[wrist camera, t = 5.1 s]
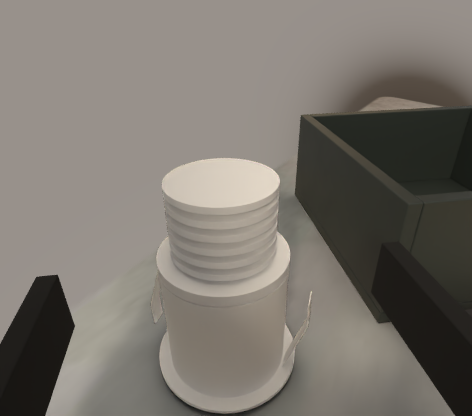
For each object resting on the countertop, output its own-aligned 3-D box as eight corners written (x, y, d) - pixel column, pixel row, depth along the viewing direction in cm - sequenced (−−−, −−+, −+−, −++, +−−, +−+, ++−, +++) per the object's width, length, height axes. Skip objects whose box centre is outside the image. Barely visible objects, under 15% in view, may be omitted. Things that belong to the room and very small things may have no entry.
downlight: (311, 319, 21) (332, 157, 16) (291, 442, 15) (313, 245, 10) (186, 292, 23) (170, 142, 18) (124, 389, 17) (76, 207, 12)
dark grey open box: (378, 323, 20) (408, 204, 16) (294, 194, 35) (300, 114, 31) (626, 291, 22) (704, 178, 18) (449, 181, 37) (473, 105, 33)
